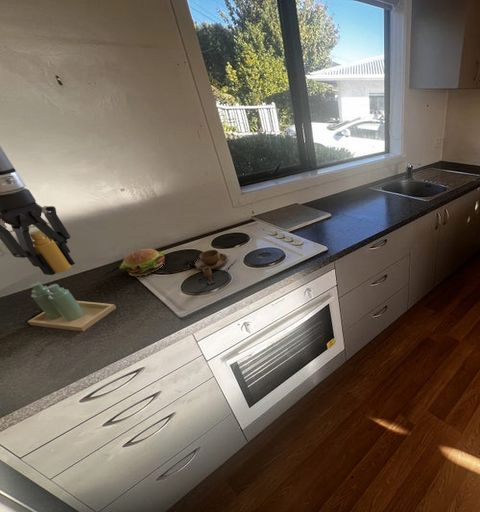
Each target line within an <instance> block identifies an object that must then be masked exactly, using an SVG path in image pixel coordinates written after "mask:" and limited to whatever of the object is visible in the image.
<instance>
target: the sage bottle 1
mask: <svg viewBox="0 0 480 512" xmlns="http://www.w3.org/2000/svg"><path fill="white" fill-rule="evenodd" d="M47 287H48V286H47V285H43V283H42V282H40V281H39V282H34V283H33V284H31V285H30V288H31V289H32V290H31V295H30V297H31V298H32V299H33V300H34V302H35V304H37V306H38V307H39V308H40V309H41V310H42V313H43V312H44V313H45V314H46V315H47V316H48V318H49V319H57V318H60V317H62V315H61V314H60V313H59V312H58V310H57V309H56V308H55V306H54V305H53V304H52V303H51V301H50V300H49V299H48V296H49V294H48V293H49V292H50V291H49V289H48V288H47Z"/></svg>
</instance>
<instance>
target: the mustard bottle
mask: <svg viewBox="0 0 480 512" xmlns="http://www.w3.org/2000/svg"><path fill="white" fill-rule="evenodd" d="M29 234H30V237H31V240H32V242H33V245H34V248H35V251H36V253H37V254H42V256H43V257H44V258H45V260H46V261H47V263H48V264H49V265H50V267H51V268H52V270H53V271H54V272H55V274H54V275H56V274H57V275H58V274H61V273H64V272H66V271H68V270H70V269H71V268H72V265H70V264H69V262H68V261H67V259H66V258H65V256H64V255H63V253H62V252H61V250H60V249H59V247H58V246H57V244H56V243H55V241H54V240H53V239H49V238H48V236H46V235H44V234H43V233H42V232H41V231H40V230H35V231H32V232H29Z"/></svg>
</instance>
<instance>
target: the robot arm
mask: <svg viewBox="0 0 480 512" xmlns="http://www.w3.org/2000/svg"><path fill="white" fill-rule="evenodd" d="M36 201H37V200H36V199H35V197H34V195H33V194H32V193H31V191H30V189H28V188H26V184H25V182H24V181H23V179H22V178H21V176H20V175H19V173H18V172H17V170H16V168H15V167H14V165H13V163H12V162H11V160H10V159H9V158H8V156H7V154H6V153H5V151H4V150H3V148H2V147H1V145H0V241H1V242H2V243H3V245H4V246H5V247H6V248H7V249H8V251H9V252H10V253H11V255H12V256H13V257H14V258H21V259H25V258H27V260H28V261H29V262H30V263H31V265H32V266H34V267H36V268H37V267H38V268H39V269H40V271H41V272H42V273H43V275H45V276H46V275H47V276H54V275H56V274H55V272H54V271H53V270H52V268H51V267H50V265H49V264H48V263H47V261H46V260H45V258H44V257H43V256H42V254H37V253H36V251H35V248H34V245H33V242H32V240H31V239H32V238H31V236H30V227H31V226H34V227H35V228H37V229H38V231H41V233H42V234H43V235H44V236H48V238H49V239H53V240H54V241H55V243H56V244H57V246H58V247H59V249H60V250H61V252H62V253H63V255H64V256H65V258H66V259H67V261H68V262H69V264H70V265H71V266H73V265H76V262H75V261H74V260H73V258H72V257H71V255H70V253H71V250H70V249H69V246H68V245H67V244H68V240H69V239H71V235H70V233H69V232H68V231H67V228H66V227H65V225H64V224H63V222H62V220H61V219H60V217H59V216H58V214H57V209H56V206H53V205H43V206H41V205H40V204H38V203H37V202H36ZM42 214H43V215H44V217H45V219H46V220H47V221H46V220H45V219H44V218H42ZM48 223H49V224H48ZM6 224H7V225H9V226H11V229H12V232H14V233H15V237H16V238H15V237H14V236H13V234H12V232H10V231H9V229H7V228H8V226H7V225H6ZM16 239H17V240H16Z"/></svg>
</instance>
